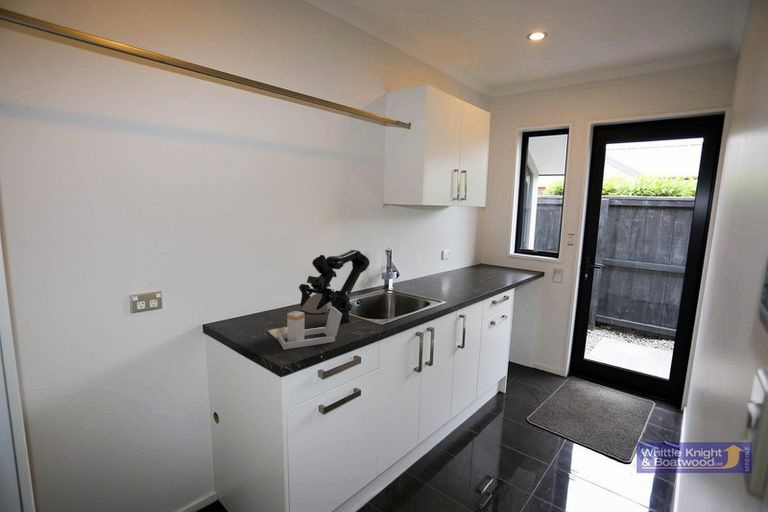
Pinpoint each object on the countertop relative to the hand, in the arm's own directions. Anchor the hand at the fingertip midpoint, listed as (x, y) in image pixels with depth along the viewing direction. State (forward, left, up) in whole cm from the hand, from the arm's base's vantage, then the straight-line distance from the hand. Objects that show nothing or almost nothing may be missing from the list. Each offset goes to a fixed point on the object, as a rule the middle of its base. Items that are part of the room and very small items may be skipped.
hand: (308, 307), depth 163 cm
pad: (+10, -9, -13) cm, 19 cm away
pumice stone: (-14, -35, -14) cm, 40 cm away
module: (+7, +4, -13) cm, 16 cm away
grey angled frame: (+1, +4, -13) cm, 14 cm away
